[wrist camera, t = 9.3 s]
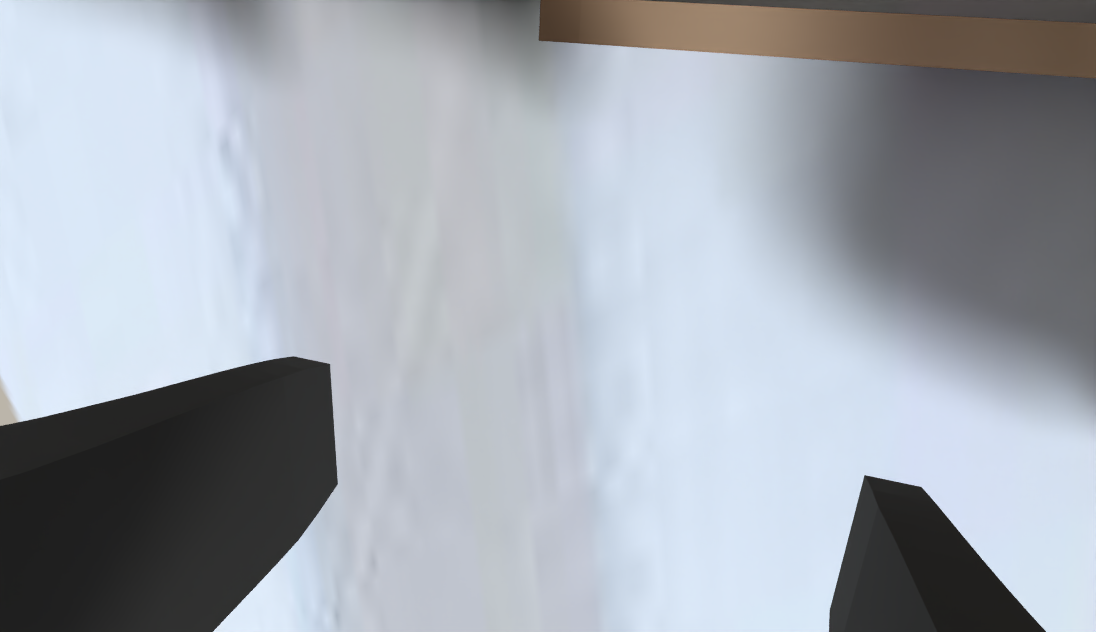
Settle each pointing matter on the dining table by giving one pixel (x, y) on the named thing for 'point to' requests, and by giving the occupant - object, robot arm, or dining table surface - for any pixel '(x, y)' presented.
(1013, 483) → the dining table surface
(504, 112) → the dining table surface
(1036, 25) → the frame box
